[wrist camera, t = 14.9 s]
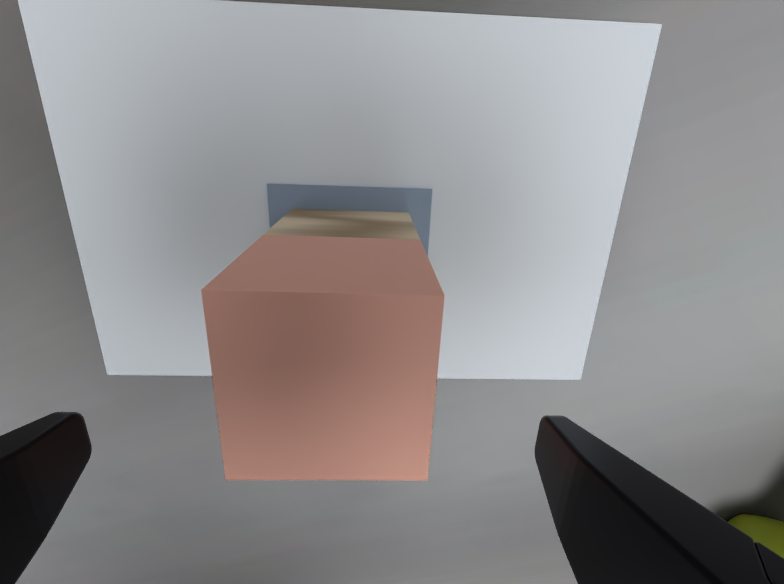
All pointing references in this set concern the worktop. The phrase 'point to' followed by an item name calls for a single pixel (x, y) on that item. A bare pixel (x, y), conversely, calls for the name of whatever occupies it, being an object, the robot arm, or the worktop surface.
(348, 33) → the blueprint board
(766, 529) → the dumbbell
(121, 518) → the worktop surface
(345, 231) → the maple block
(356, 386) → the coral block
